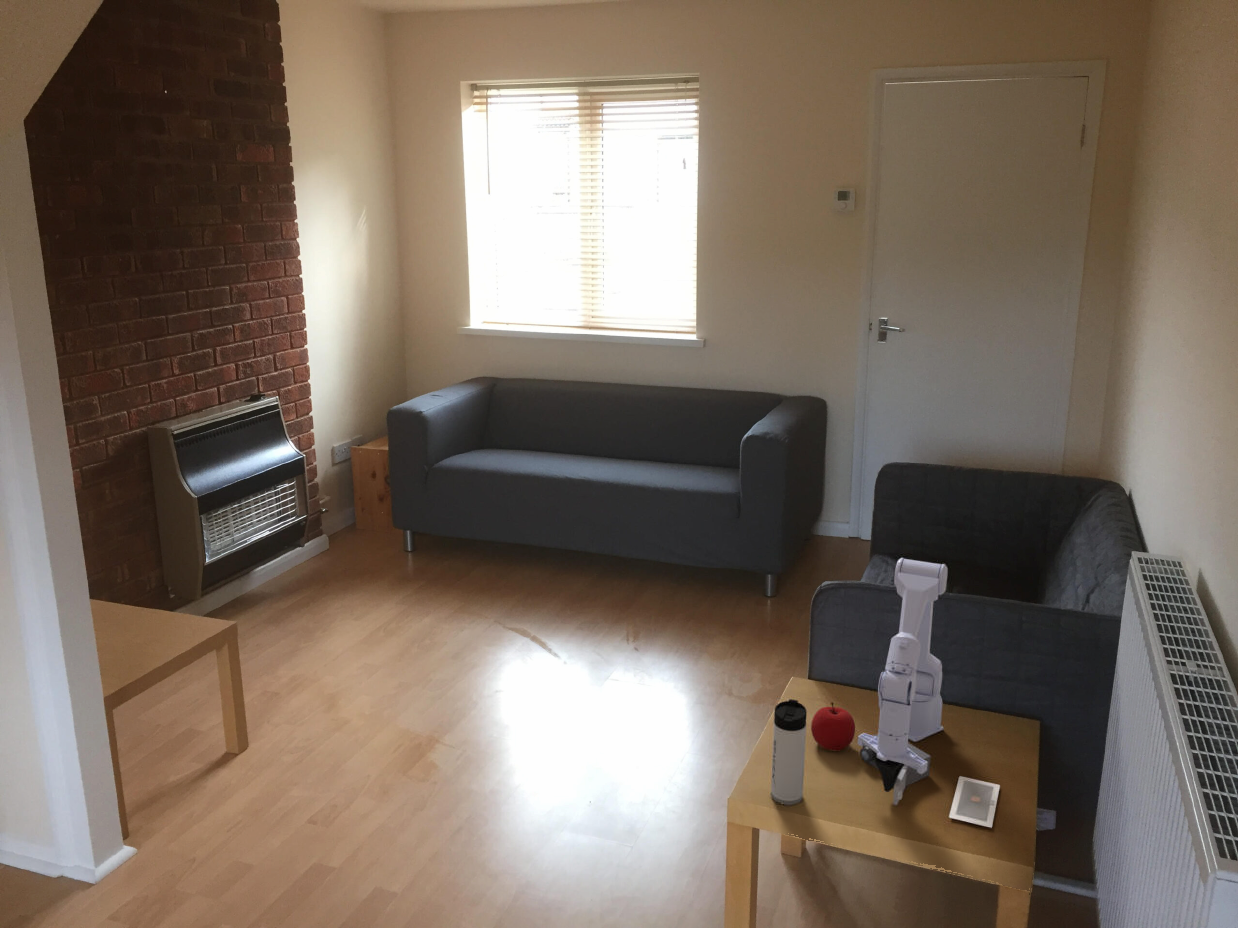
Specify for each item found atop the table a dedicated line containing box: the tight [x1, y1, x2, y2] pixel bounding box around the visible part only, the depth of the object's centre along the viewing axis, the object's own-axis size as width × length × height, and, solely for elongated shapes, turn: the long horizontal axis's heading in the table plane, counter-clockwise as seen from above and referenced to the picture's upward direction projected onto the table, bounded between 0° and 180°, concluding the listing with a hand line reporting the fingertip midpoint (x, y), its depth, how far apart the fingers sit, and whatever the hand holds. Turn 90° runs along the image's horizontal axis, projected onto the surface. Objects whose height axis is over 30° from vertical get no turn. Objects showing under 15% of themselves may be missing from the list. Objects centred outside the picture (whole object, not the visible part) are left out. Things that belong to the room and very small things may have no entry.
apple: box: [810, 702, 856, 752], centre depth 226 cm, size 9×9×10 cm
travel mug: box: [770, 698, 808, 806], centre depth 207 cm, size 6×7×20 cm
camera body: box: [859, 733, 932, 787], centre depth 219 cm, size 9×12×5 cm
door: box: [892, 766, 907, 806], centre depth 209 cm, size 8×2×5 cm, turn 152°
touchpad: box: [948, 775, 1001, 829], centre depth 207 cm, size 8×15×2 cm, turn 155°
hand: (888, 789), depth 209 cm, fingers closed
